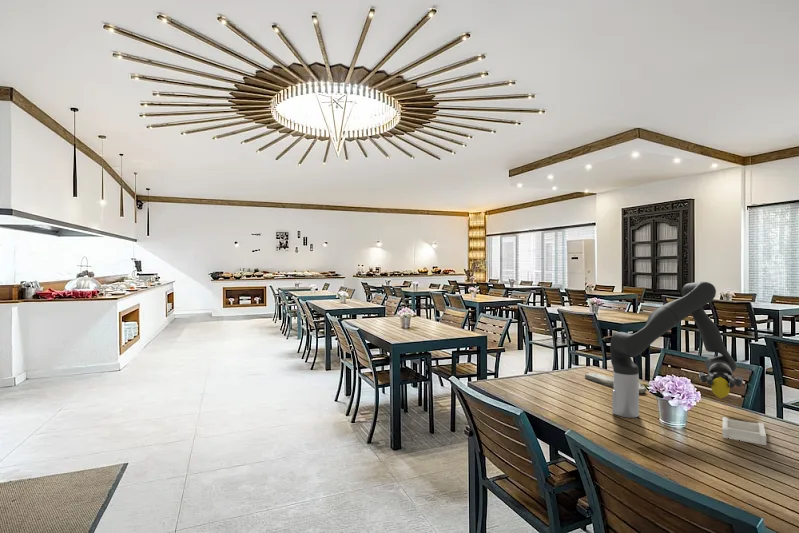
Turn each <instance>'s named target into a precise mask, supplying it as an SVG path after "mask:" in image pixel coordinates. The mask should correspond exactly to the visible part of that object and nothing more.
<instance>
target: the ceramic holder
mask: <svg viewBox="0 0 799 533" xmlns="http://www.w3.org/2000/svg"><path fill="white" fill-rule="evenodd" d="M764 424H765V423H764V422H758V423H757V422H752V421H744V420H743V421H742V420H737V419H732V418H731V419H730V418H728V417H725V416H722V427H721V428H722V429H721V432H722V433H721V434H722V437H723V438H722V439H728V438H729V439H730V440H733V439H734V441H739V440H740V442H745V443H751V444H755V445H756V444H757V445H763V446H767V435H766V430H765V425H764Z"/></svg>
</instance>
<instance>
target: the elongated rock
mask: <svg viewBox="0 0 799 533" xmlns="http://www.w3.org/2000/svg"><path fill="white" fill-rule="evenodd" d="M584 374H585V375H584V379H587V380H589V381H592V382H595V383H597V384H600V385H604V386H608V387H611V388H614V377H612V376H608V375H604V374H602V373H601V374H600V373H597V372H594V371H593V372H586V373H584ZM647 390H648V389H647V388H646V386H645V385H644V384H642V383H641V382H639V394H645V393H646V392H647Z"/></svg>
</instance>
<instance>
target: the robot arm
mask: <svg viewBox="0 0 799 533" xmlns="http://www.w3.org/2000/svg"><path fill="white" fill-rule="evenodd" d="M716 294H717V288H716V287H715V286H714V284H712V283H711V282H709V281H697V282H690V283H686V284H684V285H683V287H682V289H681V295H682V297H679V298H677V299H674V300H672V301H670V302H666V303H664V304H662V305H661V306H659V307H658V308H657V309H655V310H653V311H652V312H651V313H650V314H649V315H648V317H647V320H646V322H645V325H644V327H642V328H641V329H639V330H638V331H636V332H634V333H628V332H624V331H617V332H615V333H614V334H613V335H612V337H611V339H610V345H609V348H610V350H609V351H610V361H611V362H610V363H611V366H612V368H613V378H614V387H613V389H612V398H611V399H612V400H611V401H612V414H613V415H616V416H619V417H623V418H629V419H630V418H638V417H639V416H640V393H639V381H640V380H639V379H640V378H639V377H640V376H639V371H640V370H639V366H638V365H637V364H636V363H635V362H634V361H633V360H632V358H636V357H638V356H640V355H641V354H642V353H643V352H644V351H646V350H647V349H648V348H649V347H650V346H651V345H652V344H653V343H654V342H655V341H657V340H658V339H659V338H660V337H661V336H663V335H664V334H665V333H666V332H668V331H670V330H671V329H672V328H674V327H676V326H677V325H678V324H679V323H680V322H682V321H684V320H685V319H686V318H687V317H689V316H690V315H691V316H692V319H693V321H694V322H695V324H696V326H697V329H698V331H699V334H700V337H701V340H702V343H703V346H704V348H705V351H706V352H709V353H716V354H717V353H718V354H720V355H717V356H710V357H708V358H706V359H705V360H704V361H705V362H704V364H705V368H706V371H708V373H707V374H706V373H705V372H702V371H699V372H698V373H699V374H698V376H699V377H698V379H699V380H700V381H701V382H702V383H706V384H707V385H709V386H712V381H713V380H714V379H716V378H719V377H722V378H723V379H725V380H726V381H727V382H728V383H729V386H730V389H732V388H734V387H735V386H736V387H741V386H742V385H743V384H744V376H741V375H740V376H736V377H735V376H734V375H733V372H735V371H736V370H737V363H736V361H735V360H734V358H733V357H732V355H731V354H730V353H729V351H728V350H727V348H726V346H725V344H724V340H723V336H722V334H721V332H720V329H719V327H718V326H717V324H715V322H714V321H713V320H712V319H711V318H710V317H709V316H708V314H707V313H706V311H705V309H704V306H706V305H708V304H709V303H711V302H712V301H714V299H715V297H716Z"/></svg>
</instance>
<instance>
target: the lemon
mask: <svg viewBox="0 0 799 533" xmlns="http://www.w3.org/2000/svg"><path fill="white" fill-rule="evenodd" d="M710 386H711V385H710ZM711 391H712V393H713V394H714V395H715V396H716V397H717V398H719V399H723V398H726V397H728V396H729V394H730V391H731V388H730V385H729V383H728V382H727V381H726V380H725V379H723V378H722V377H719V378H716V379H714V380H713V381H712V386H711Z"/></svg>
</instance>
